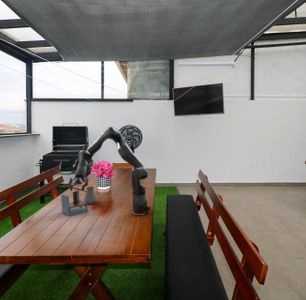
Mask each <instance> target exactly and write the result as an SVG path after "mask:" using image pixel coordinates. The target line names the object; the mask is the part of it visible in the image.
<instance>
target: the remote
mask: <svg viewBox="0 0 306 300" xmlns="http://www.w3.org/2000/svg"><path fill="white" fill-rule="evenodd" d="M72 199H73V200H72V202H73V203H74V204H78V203H79V200H80V190H74V191H72Z"/></svg>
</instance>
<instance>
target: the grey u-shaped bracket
mask: <svg viewBox="0 0 306 300" xmlns="http://www.w3.org/2000/svg"><path fill="white" fill-rule="evenodd" d="M83 206H84V207H83ZM88 210H89V209H88V204H87V203H86V202H84V200H81V199H79V203H78V204H74V203H73V201H71V202H70V197H69V195H67V194H65V193H61V211H62V213H63V214H64V215H65V216H68V217H69V216H74V215H77V214H81V213H86V212H88Z"/></svg>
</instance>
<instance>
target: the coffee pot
mask: <svg viewBox="0 0 306 300" xmlns="http://www.w3.org/2000/svg"><path fill="white" fill-rule="evenodd" d="M85 188H86V190H85V189H84V190H83V191H82V190H81V189H82V188H78V187H73V189H72V190H75V191H79V192H80V191H81V192H85V195H84V197H83V201H84V202H86V203H87V205H94V204H96V203H97V201H98V199H99V198H98V196H97V194H96V191H95V190H94V189H95V187H94V186H86V187H85Z"/></svg>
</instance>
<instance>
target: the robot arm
mask: <svg viewBox="0 0 306 300" xmlns="http://www.w3.org/2000/svg"><path fill="white" fill-rule="evenodd" d="M108 139H109V140H112V141H113V142H114V143H115V145H116V146H117V152H118V155H119V156H120V158H121V159H122V160H123V161H124V162H126V163H127V164H129V165H131V166H132V167H133V168H131V170H130V184H131V188H132V189H131V191H132V215H134V216H144V215H146V214H147V213H149V211H151V206H150V205H148V201H147V199H146V197H147V196H146V195H147V194H146V185H145V184H141V181H143V180H146V179H147V178H148V176H149V173H148V170H147V167H145V166H144V165H143V164H142V162H141V161H140V160H139V158H138V157H137V156H136V154H134V152H133V150H132V148H131V147H130V146H129V145H128V143H127V142H126V141H125V139H124V137H123V136H122V133H121V131H119V130H118V129H117V128H115V127H113V126H109V127H107V128H105V130H104V131H102V133H101V134H100V135H99V137H98V138H97V139H96V140H95V141H94V142H93V143H92V144H90V145H89V147H88V148H87V151H86V150H84V149H82V150H80V151H79V153H78V164H77V168H76V170H75V174H74V178H73V177H70V178H69V181H68V186H69V191H71V192H73V190H74V189H73V188H74V186H76V185H82V186H81V188H80V189H81V190H82V191H81V192H84V191H85V188H86V187H89V186H88V185H89V178H88V177H86V175H87V170H88V169H87V168H88V164H89V162H90V161H91V160H92V158H93V157H94V155H95V154H96V153H98V152H99V151H100V150H101V148H102V146H103V144H104V142H105V141H107V140H108ZM83 190H84V191H83Z"/></svg>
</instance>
